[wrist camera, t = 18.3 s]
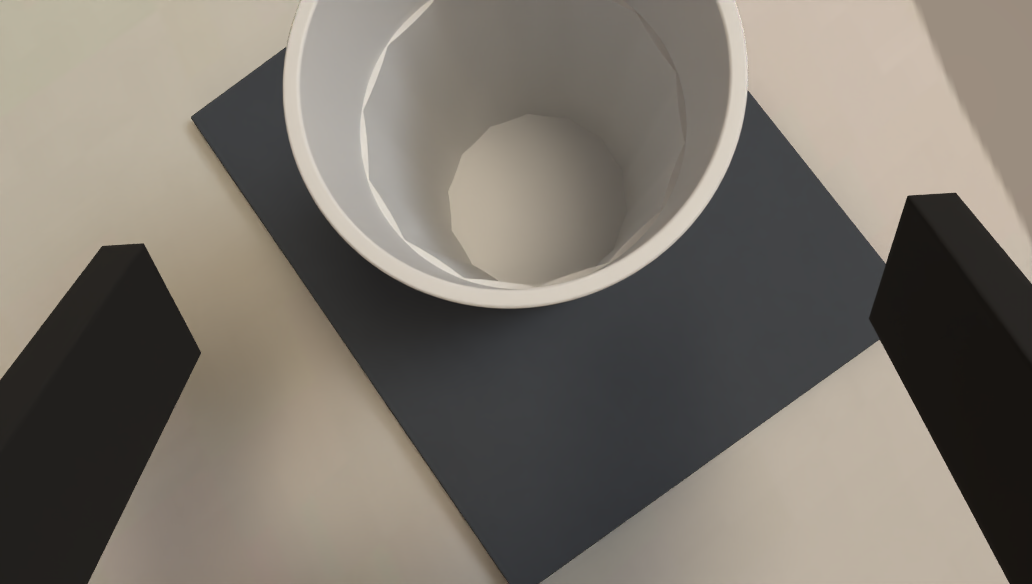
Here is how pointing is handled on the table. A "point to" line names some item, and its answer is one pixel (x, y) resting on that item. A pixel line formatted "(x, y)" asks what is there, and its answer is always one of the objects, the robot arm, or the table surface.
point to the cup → (513, 135)
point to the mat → (582, 340)
